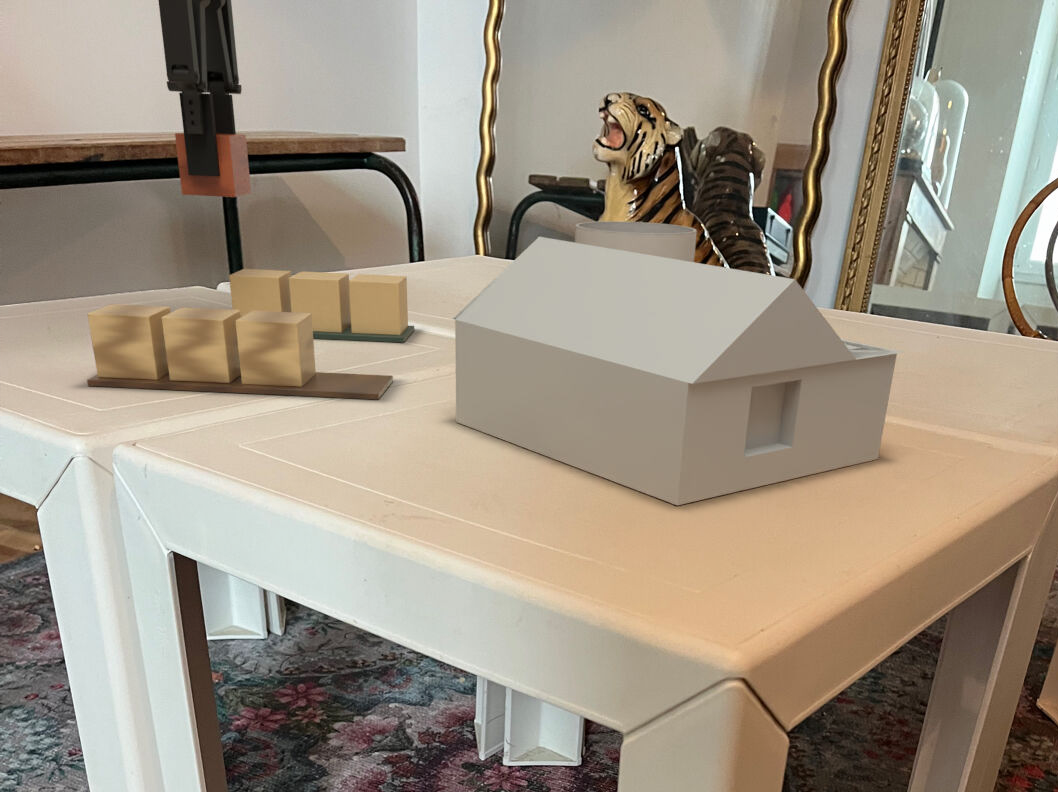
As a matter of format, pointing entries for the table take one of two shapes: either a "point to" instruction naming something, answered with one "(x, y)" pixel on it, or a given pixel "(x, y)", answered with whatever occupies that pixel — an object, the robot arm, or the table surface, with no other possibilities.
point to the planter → (640, 238)
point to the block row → (329, 302)
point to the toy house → (666, 372)
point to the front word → (216, 353)
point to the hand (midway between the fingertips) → (214, 173)
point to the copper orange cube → (230, 164)
